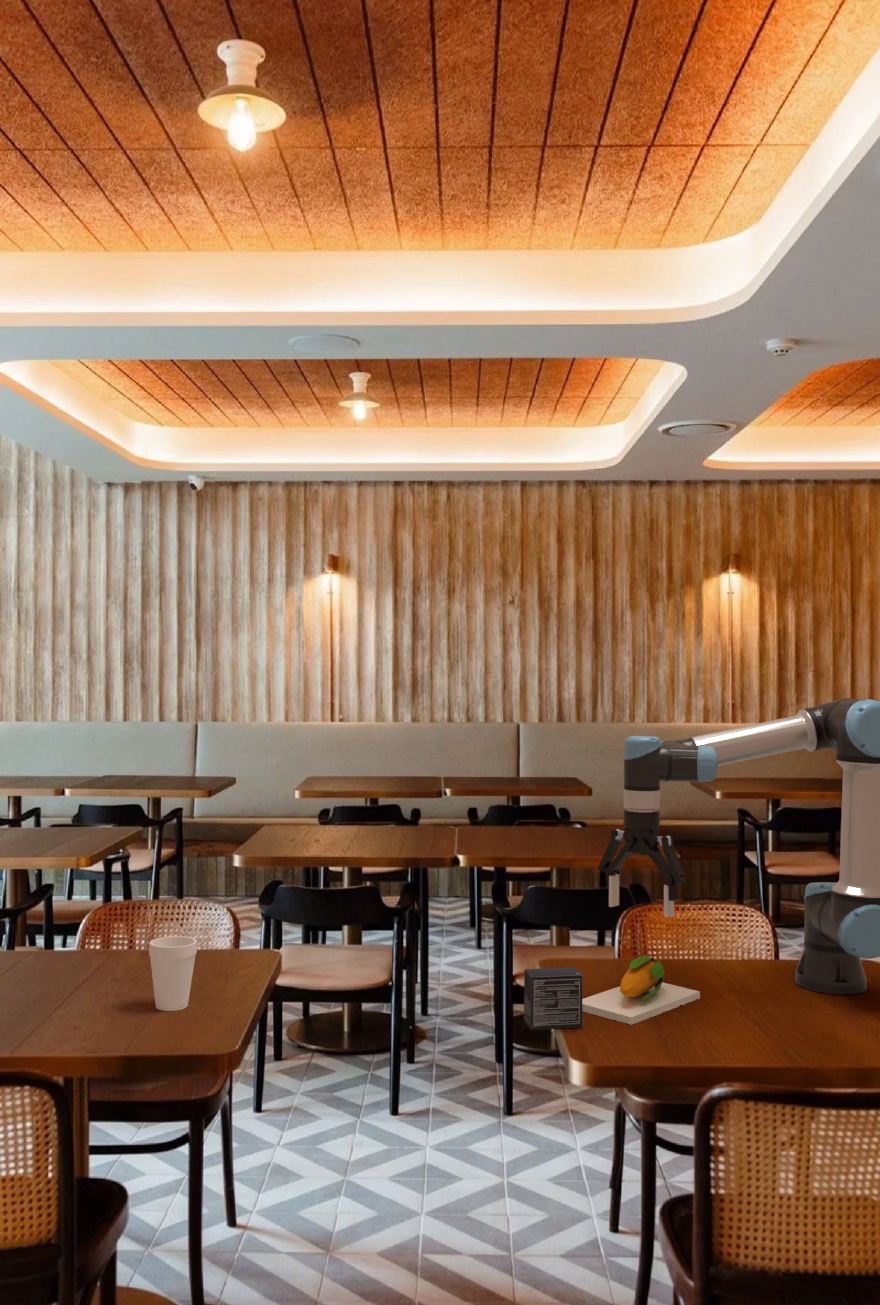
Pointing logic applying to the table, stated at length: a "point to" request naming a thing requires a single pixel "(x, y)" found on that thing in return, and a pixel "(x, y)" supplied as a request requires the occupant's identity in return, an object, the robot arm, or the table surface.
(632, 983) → the mango
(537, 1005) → the small box
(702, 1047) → the table surface
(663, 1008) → the platter
